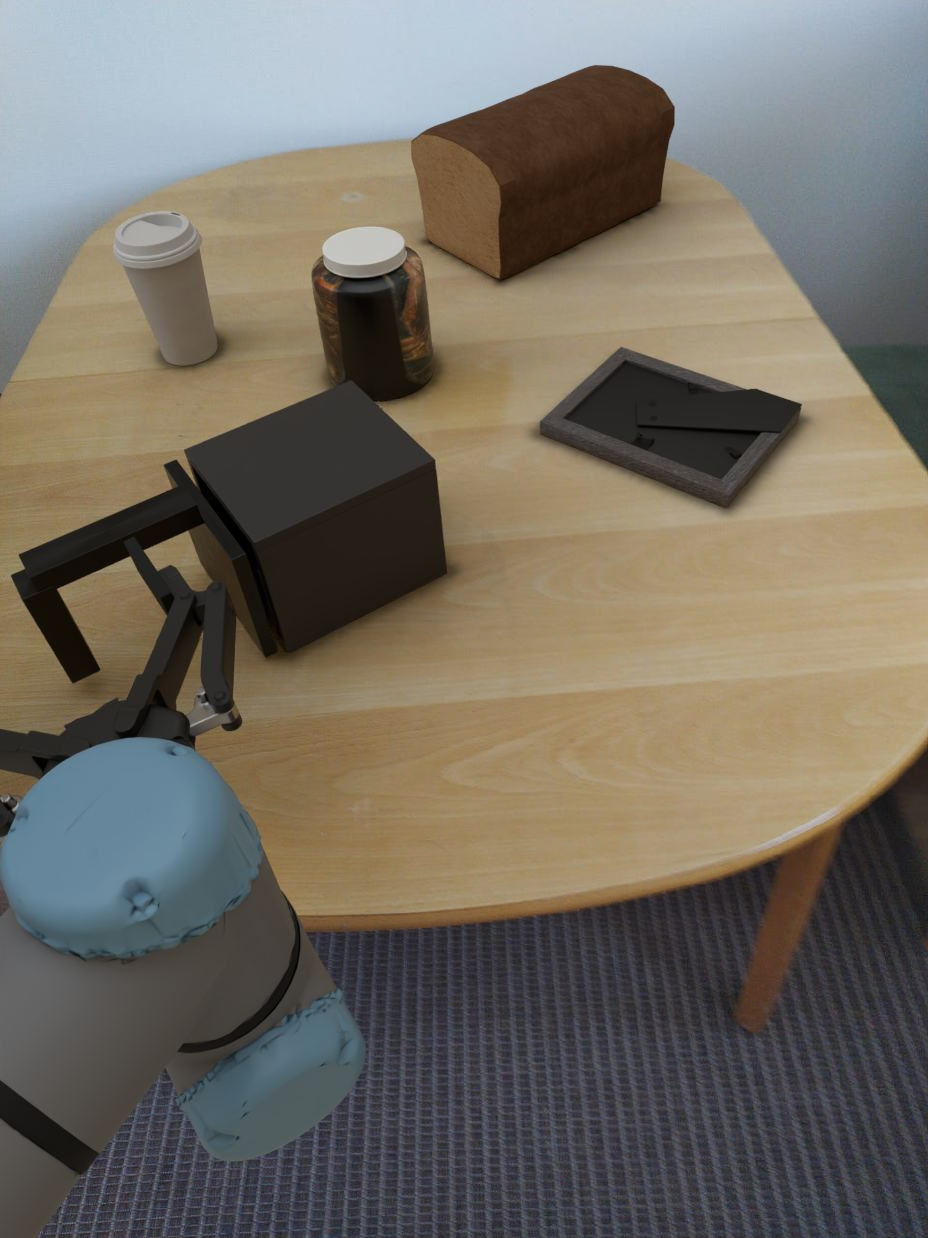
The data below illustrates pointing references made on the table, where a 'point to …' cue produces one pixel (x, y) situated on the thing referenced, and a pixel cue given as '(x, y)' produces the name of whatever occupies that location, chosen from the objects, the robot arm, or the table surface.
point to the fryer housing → (328, 508)
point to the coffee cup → (169, 283)
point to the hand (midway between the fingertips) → (35, 601)
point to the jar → (373, 312)
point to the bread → (544, 168)
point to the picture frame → (673, 424)
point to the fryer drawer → (150, 525)
